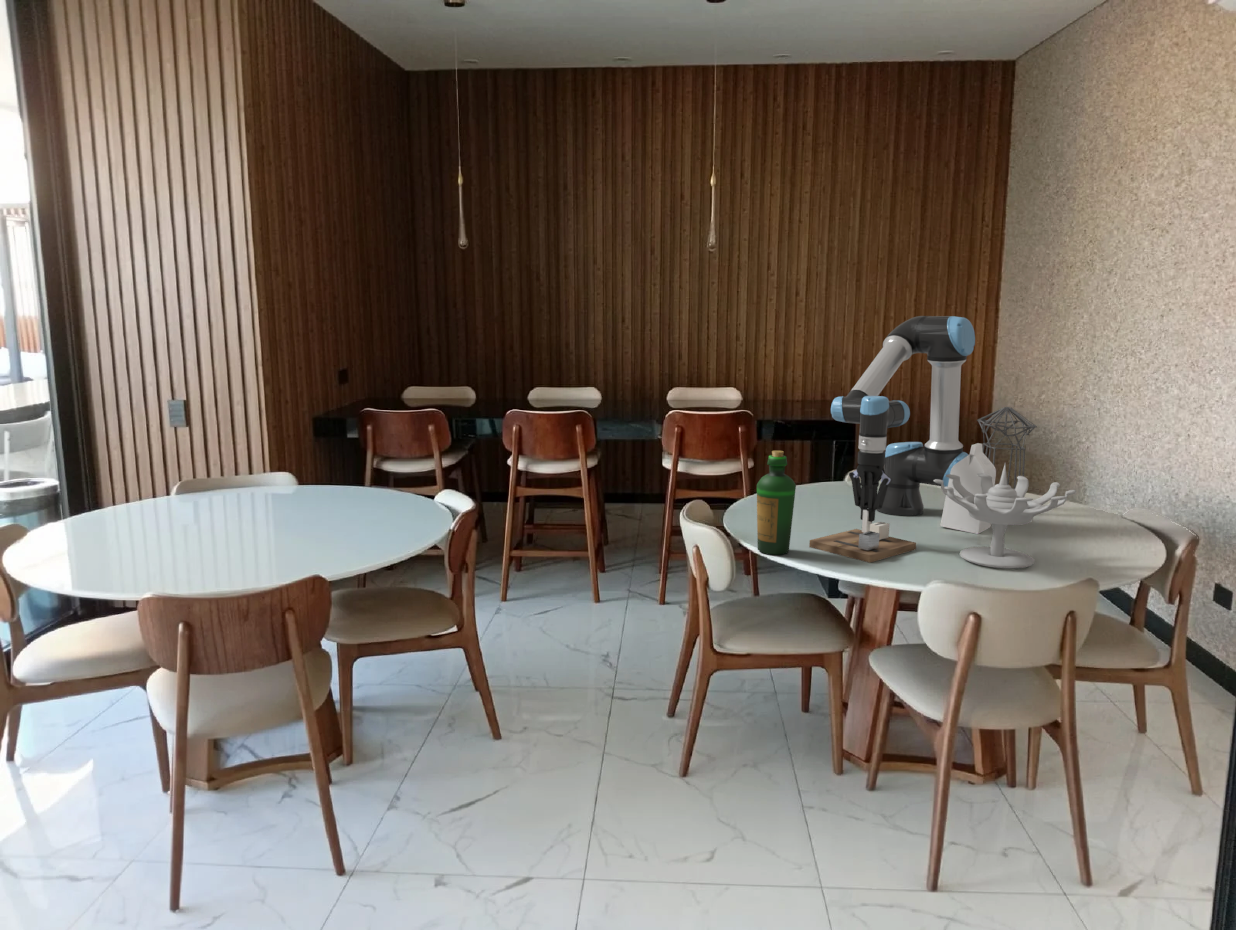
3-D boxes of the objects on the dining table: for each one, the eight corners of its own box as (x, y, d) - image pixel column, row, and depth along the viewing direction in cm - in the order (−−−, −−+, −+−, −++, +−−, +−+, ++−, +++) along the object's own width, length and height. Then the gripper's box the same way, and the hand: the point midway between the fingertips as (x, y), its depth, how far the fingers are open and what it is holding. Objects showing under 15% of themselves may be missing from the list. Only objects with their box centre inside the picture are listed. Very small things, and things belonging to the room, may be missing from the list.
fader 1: (858, 548, 247) (859, 533, 247) (869, 545, 251) (870, 530, 250) (867, 550, 245) (868, 535, 244) (878, 547, 248) (879, 532, 248)
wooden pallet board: (809, 546, 257) (809, 539, 257) (855, 535, 271) (856, 528, 271) (869, 562, 242) (870, 555, 242) (915, 549, 256) (916, 542, 256)
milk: (953, 519, 291) (964, 439, 286) (990, 527, 284) (1002, 445, 279) (940, 526, 282) (951, 443, 277) (977, 534, 275) (990, 449, 270)
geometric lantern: (968, 503, 318) (976, 403, 312) (1014, 505, 317) (1024, 405, 311) (981, 513, 303) (990, 408, 297) (1030, 515, 301) (1040, 410, 295)
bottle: (751, 546, 257) (755, 448, 252) (789, 546, 257) (794, 448, 252) (756, 556, 247) (760, 454, 242) (795, 557, 246) (800, 455, 242)
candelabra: (913, 565, 241) (921, 463, 236) (947, 538, 269) (955, 447, 265) (1054, 588, 222) (1066, 479, 217) (1075, 557, 251) (1085, 460, 246)
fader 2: (869, 537, 259) (870, 523, 258) (879, 535, 262) (880, 521, 261) (878, 540, 256) (879, 525, 256) (888, 537, 260) (889, 523, 259)
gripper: (844, 449, 261) (839, 529, 265) (884, 455, 251) (879, 538, 255) (859, 446, 266) (855, 525, 270) (899, 452, 256) (893, 534, 260)
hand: (866, 531), depth 262 cm, fingers closed
